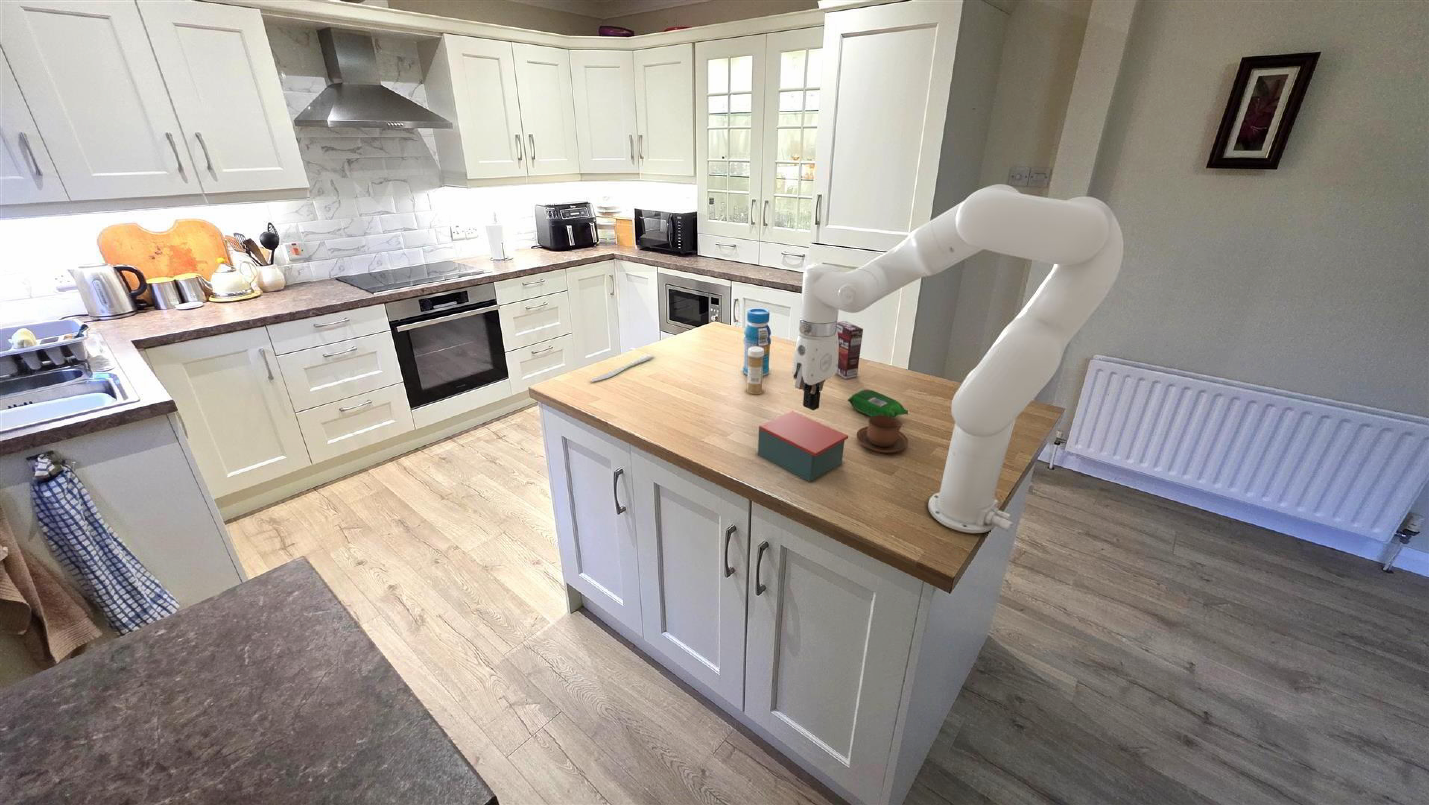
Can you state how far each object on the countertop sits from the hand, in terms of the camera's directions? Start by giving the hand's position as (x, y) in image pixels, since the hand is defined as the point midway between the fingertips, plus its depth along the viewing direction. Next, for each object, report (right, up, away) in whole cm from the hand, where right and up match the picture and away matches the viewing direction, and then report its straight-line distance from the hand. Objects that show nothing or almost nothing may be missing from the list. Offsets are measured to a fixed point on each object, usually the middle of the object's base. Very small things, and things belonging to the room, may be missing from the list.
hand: (810, 407), depth 120 cm
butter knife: (-50, +12, +56) cm, 76 cm away
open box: (-1, -12, +7) cm, 14 cm away
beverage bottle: (-8, +11, +54) cm, 56 cm away
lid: (-1, -6, +4) cm, 7 cm away
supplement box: (+20, +10, +54) cm, 58 cm away
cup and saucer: (+20, -9, +14) cm, 26 cm away
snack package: (+22, -2, +28) cm, 36 cm away
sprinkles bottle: (-9, +4, +41) cm, 42 cm away
